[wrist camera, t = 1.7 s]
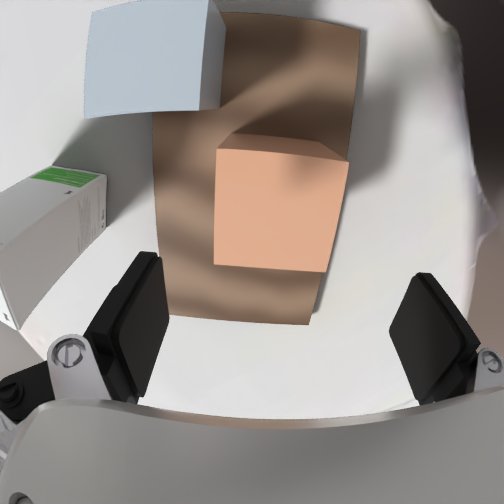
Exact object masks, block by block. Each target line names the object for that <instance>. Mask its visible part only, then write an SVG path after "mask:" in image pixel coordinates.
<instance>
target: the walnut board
mask: <svg viewBox="0 0 504 504" xmlns="http://www.w3.org/2000/svg"><path fill="white" fill-rule="evenodd" d="M219 13H220V15H221V17H222V19H223V21H224V24H225V26H226V36H225V47H224V58H223V70H222V83H221V98H220V108H218V109H208V110H192V111H157V112H153V174H154V196H155V212H156V225H157V237H158V247H159V257H161V258H162V261H163V270H164V279H165V287H166V295H167V303H168V310H169V315H177V316H186V317H195V318H205V319H216V320H227V321H240V322H254V323H270V324H291V325H309V322H310V318H311V315H312V311H313V308H314V304H315V300H316V297H317V293H318V289H319V285H320V281H321V277H322V273H323V272H313V271H298V270H283V269H269V268H255V267H242V266H229V265H216V264H214V209H215V175H216V150H217V147H218V146H219V145H220V144H221V143H222V142H223V141H224V140H225V139H226V138H227V137H228V136H229V135H230V134H231V133H237V134H252V135H265V136H275V137H285V138H294V139H302V140H309V141H316V142H320V143H322V144H323V145H325V146H326V147H328V148H329V149H331V150H332V151H334V152H335V153H337V154H338V155H339V156H341V157H342V158H344V159H345V160H346V157H347V151H348V145H349V138H350V131H351V124H352V116H353V108H354V100H355V91H356V81H357V70H358V58H359V44H360V30H356V29H352V28H348V27H344V26H340V25H335V24H331V23H326V22H321V21H316V20H310V19H304V18H297V17H290V16H282V15H272V14H259V13H235V12H219Z"/></svg>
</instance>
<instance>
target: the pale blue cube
mask: <svg viewBox="0 0 504 504" xmlns="http://www.w3.org/2000/svg"><path fill="white" fill-rule="evenodd" d="M225 36H226V26H225V24H224V21H223V19H222V17H221V15H220V13H219V10H218V8H217V6H216V4H215V2H214V0H138V1H133V2H128V3H124V4H120V5H116V6H112V7H108V8H105V9H101V10H98V11H94V12H92V15H91V21H90V28H89V35H88V43H87V52H86V64H85V79H84V119H88V118H95V117H102V116H110V115H119V114H129V113H141V112H157V111H192V110H208V109H218V108H220V98H221V83H222V70H223V58H224V47H225Z"/></svg>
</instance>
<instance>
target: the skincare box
mask: <svg viewBox="0 0 504 504" xmlns="http://www.w3.org/2000/svg"><path fill="white" fill-rule="evenodd" d="M106 187H107V175H106V174H101V173H94V172H90V171H84V170H77V169H71V168H64V167H58V166H49V167H47V168H45V169H43V170H41V171H39V172H37V173H35V174H33V175H31V176H29V177H27V178H26V179H24V180H22V181H20V182H18V183H17V184H15V185H13V186H11V187H10V188H8V189H6V190H4V191H3V192H1V193H0V320H1V321H2V322H4V323H6V324H7V325H9V326H10V327H12V328H14V329H15V330H17V331H18V330H20V329H21V327H22V325H23V324H24V322H25V321H26V319H27V318H28V316H29V315H30V314H31V312H32V311H33V310H34V308H35V307H36V306H37V305H38V303H39V302H40V301H41V300H42V298H43V297H44V296H45V295H46V293H47V292H48V291H49V290H50V289H51V287H52V286H53V285H54V284H55V283H56V282H57V280H58V279H59V278H60V277H61V276H62V275H63V273H64V272H65V271H66V270H67V269H68V268H69V267H70V266H71V265H72V263H73V262H74V261H75V260H76V259H77V258H78V257H79V256H80V255H81V254H82V253H83V252H84V250H85V249H86V248H87V247H88V246H89V245H90V244H91V243H92V242H93V241H94V240H95V239H96V238H97V237H98V236H99V235H100V234H101V233H102V232H103V231H104V230H105V229H106Z"/></svg>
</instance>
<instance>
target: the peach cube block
mask: <svg viewBox="0 0 504 504" xmlns="http://www.w3.org/2000/svg"><path fill="white" fill-rule="evenodd" d="M348 167H349V162H348V161H347V160H345V159H344V158H342V157H341V156H339V155H338V154H337V153H335V152H334V151H332V150H331V149H329V148H328V147H326V146H325V145H323V144H322V143H320V142H316V141H309V140H302V139H294V138H285V137H275V136H265V135H252V134H237V133H231V134H230V135H229V136H228V137H227V138H226V139H225V140H224V141H223V142H222V143H221V144H220V145H219V146H218V147H217V150H216V175H215V209H214V264H216V265H229V266H242V267H255V268H269V269H283V270H298V271H313V272H326V270H327V266H328V262H329V258H330V254H331V250H332V246H333V241H334V237H335V233H336V228H337V224H338V219H339V214H340V210H341V205H342V200H343V195H344V189H345V184H346V179H347V173H348Z"/></svg>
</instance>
